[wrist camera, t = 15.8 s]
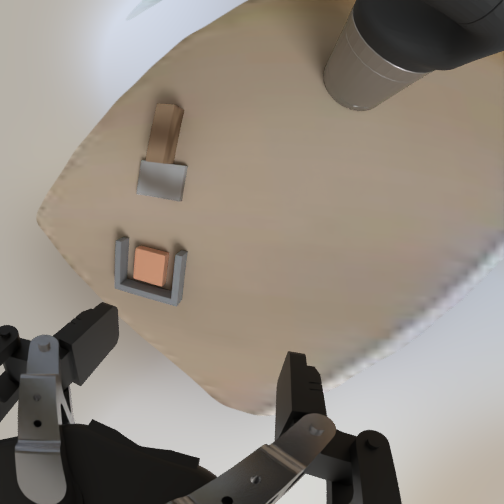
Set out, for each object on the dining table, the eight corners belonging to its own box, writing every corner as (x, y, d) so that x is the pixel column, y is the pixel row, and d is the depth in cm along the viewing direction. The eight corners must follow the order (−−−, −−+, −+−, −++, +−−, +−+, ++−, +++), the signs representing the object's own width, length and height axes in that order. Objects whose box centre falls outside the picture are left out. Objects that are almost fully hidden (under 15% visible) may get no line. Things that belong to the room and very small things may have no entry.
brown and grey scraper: (154, 108, 35) (142, 103, 31) (198, 112, 35) (190, 105, 31) (139, 193, 39) (126, 195, 35) (182, 200, 39) (172, 203, 35)
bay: (123, 236, 41) (115, 240, 38) (187, 251, 40) (182, 256, 38) (122, 282, 43) (114, 288, 41) (181, 299, 43) (176, 306, 40)
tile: (141, 244, 41) (135, 247, 39) (170, 252, 41) (165, 255, 39) (138, 273, 43) (133, 278, 41) (166, 281, 43) (161, 286, 41)
